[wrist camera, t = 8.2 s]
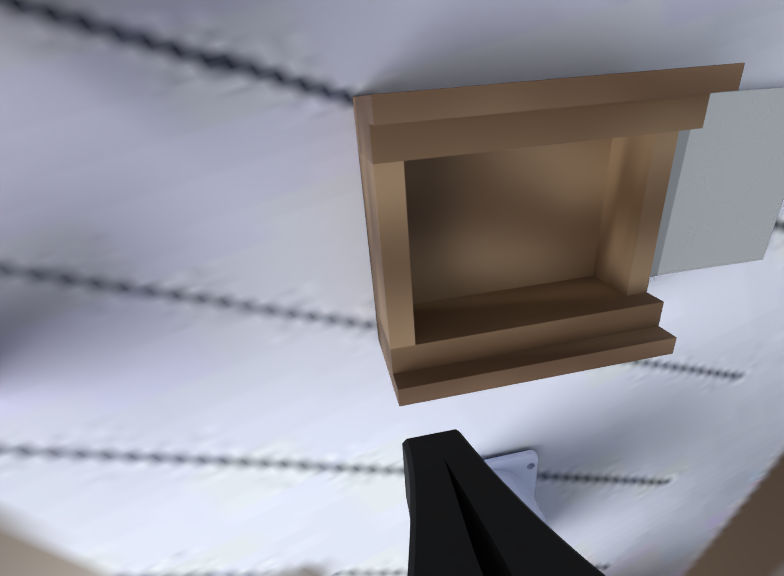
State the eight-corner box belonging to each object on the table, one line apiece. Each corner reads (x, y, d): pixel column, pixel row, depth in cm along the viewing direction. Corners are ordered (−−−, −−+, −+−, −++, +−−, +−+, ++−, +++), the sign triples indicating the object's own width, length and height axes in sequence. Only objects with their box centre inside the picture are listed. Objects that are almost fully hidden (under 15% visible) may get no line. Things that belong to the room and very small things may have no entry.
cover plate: (745, 253, 24) (791, 269, 21) (595, 274, 22) (628, 294, 20) (798, 85, 20) (861, 83, 18) (623, 99, 19) (667, 98, 16)
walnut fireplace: (598, 302, 22) (672, 353, 18) (378, 340, 21) (399, 406, 16) (632, 73, 18) (744, 62, 13) (352, 96, 16) (371, 94, 11)
